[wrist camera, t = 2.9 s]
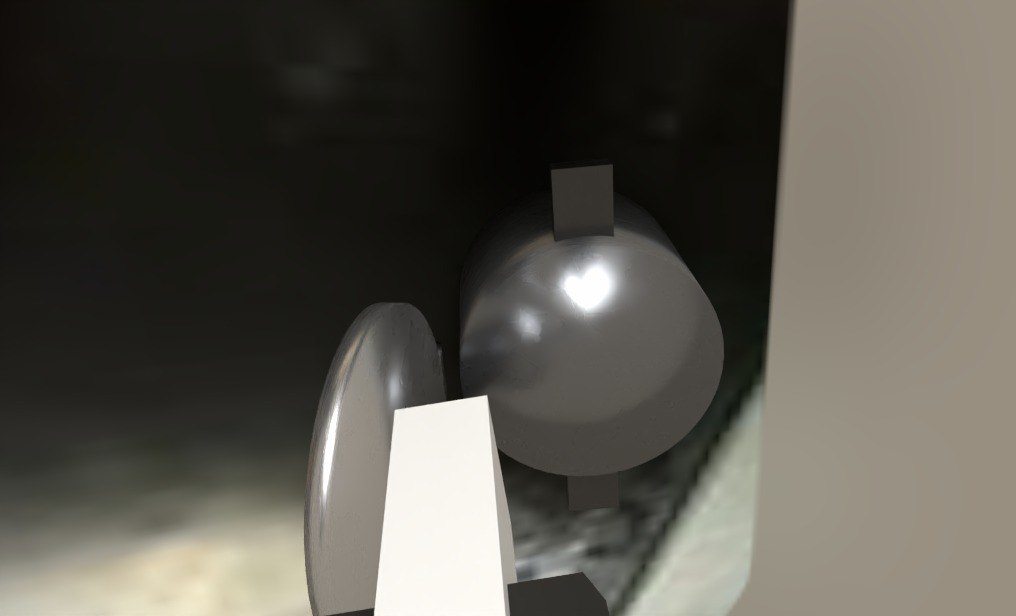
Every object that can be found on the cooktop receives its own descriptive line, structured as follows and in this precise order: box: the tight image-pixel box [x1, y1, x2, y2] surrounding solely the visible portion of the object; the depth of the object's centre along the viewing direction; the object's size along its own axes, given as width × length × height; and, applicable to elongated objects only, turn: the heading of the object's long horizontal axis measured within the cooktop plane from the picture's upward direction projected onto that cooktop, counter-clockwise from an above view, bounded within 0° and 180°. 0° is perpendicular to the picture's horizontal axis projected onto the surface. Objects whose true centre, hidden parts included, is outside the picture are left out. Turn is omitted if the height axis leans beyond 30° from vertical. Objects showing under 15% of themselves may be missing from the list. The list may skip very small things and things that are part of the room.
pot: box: [459, 158, 724, 511], centre depth 47 cm, size 14×21×10 cm, turn 4°
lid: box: [304, 303, 448, 616], centre depth 36 cm, size 16×16×2 cm
